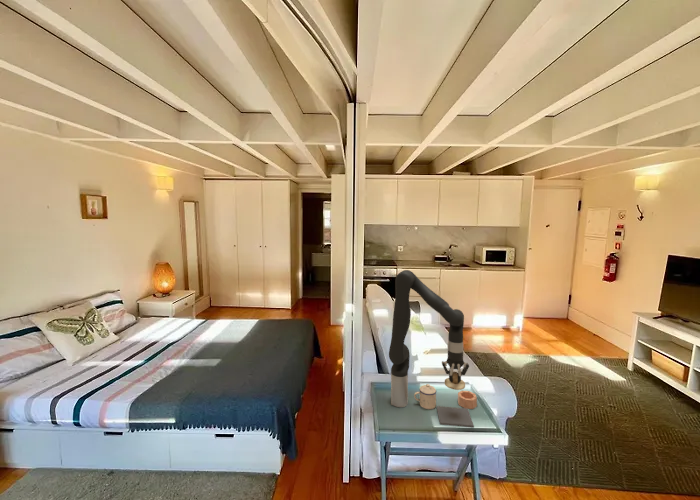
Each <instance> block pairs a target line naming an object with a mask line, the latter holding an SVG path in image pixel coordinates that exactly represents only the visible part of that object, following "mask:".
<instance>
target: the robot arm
mask: <svg viewBox="0 0 700 500" xmlns="http://www.w3.org/2000/svg"><path fill="white" fill-rule="evenodd" d="M394 283H395V287H394V288H395V299H394V305H393V316H392V327H391V340H390V345H389V348H388V349H389V350H388V358H389V361H390V362H391V363H392V365H391V369H390V378H391V379H390V384H391V385H390V406H393V407H396V408H404V407H407V406H408V403H409V383H408V382H409V379H408V378H409V369H410V349H409V348H408V346H407V345H406V344H405V339H406V336H407V333H408V331H409V328H410V324H411V316H412V311H411V305H410V294H411V290H413V291H414V292H416V293H417V294H418V295H419V296H420V297H421V298H422V300H423V301H424V302H425V303H426V305H428V306H429V307H430V308H431V309H433V310H434V311H436V312H437V313H438V314H439V315H440V316H441V317H442V318H443V319H444V320H445V321H446V322H447V323H448V324H449V328H448V329H449V330H448V338H447V339H448V342H447V359H446V361H444V360H442V361H441V365H442V367H443V370H444V372H445V375H448V378H449V380H450V381H451V382H452V373H453V372H454V370H457V373H458V383H460V382H461V380H462V376H466V374H467V372H468V370H469V368H470V364H469V363H468V362H465V360H464V324H465V316H464V315H465V314H464V313H463V311H462V310H460V309H458V308H456V309H453V308H452V307H451V306H450V304H449V303H448V302H447V301H446V300H445V299H443V297H441V296H439V294H437V293H436V292H434V291H433V290H432V289H430V288H429V287H428V286H427V285H426V284H425V283H423V282H422V280H421V279H419V277H418V276H417V275H416V273H414V272H413V271H411V270H409V269H405V270H402V271H400V272H398V273H397V275H396V276H395V282H394ZM447 366H448V367H449V370H448V368H447ZM462 367H463V368H462ZM461 368H462V370H461Z"/></svg>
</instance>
